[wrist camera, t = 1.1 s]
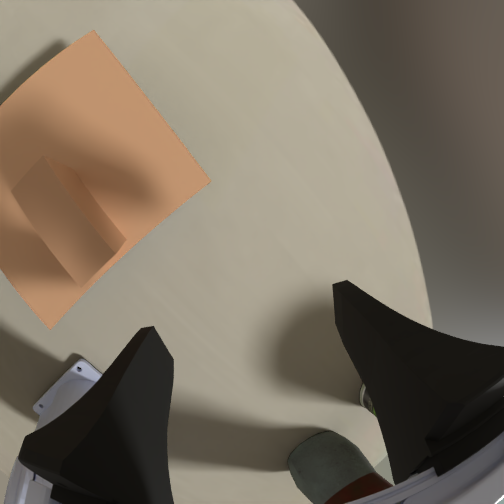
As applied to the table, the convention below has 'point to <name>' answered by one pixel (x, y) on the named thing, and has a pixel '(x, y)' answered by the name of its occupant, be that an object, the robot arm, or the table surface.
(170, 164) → the lid
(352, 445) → the bottle
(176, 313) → the table surface
